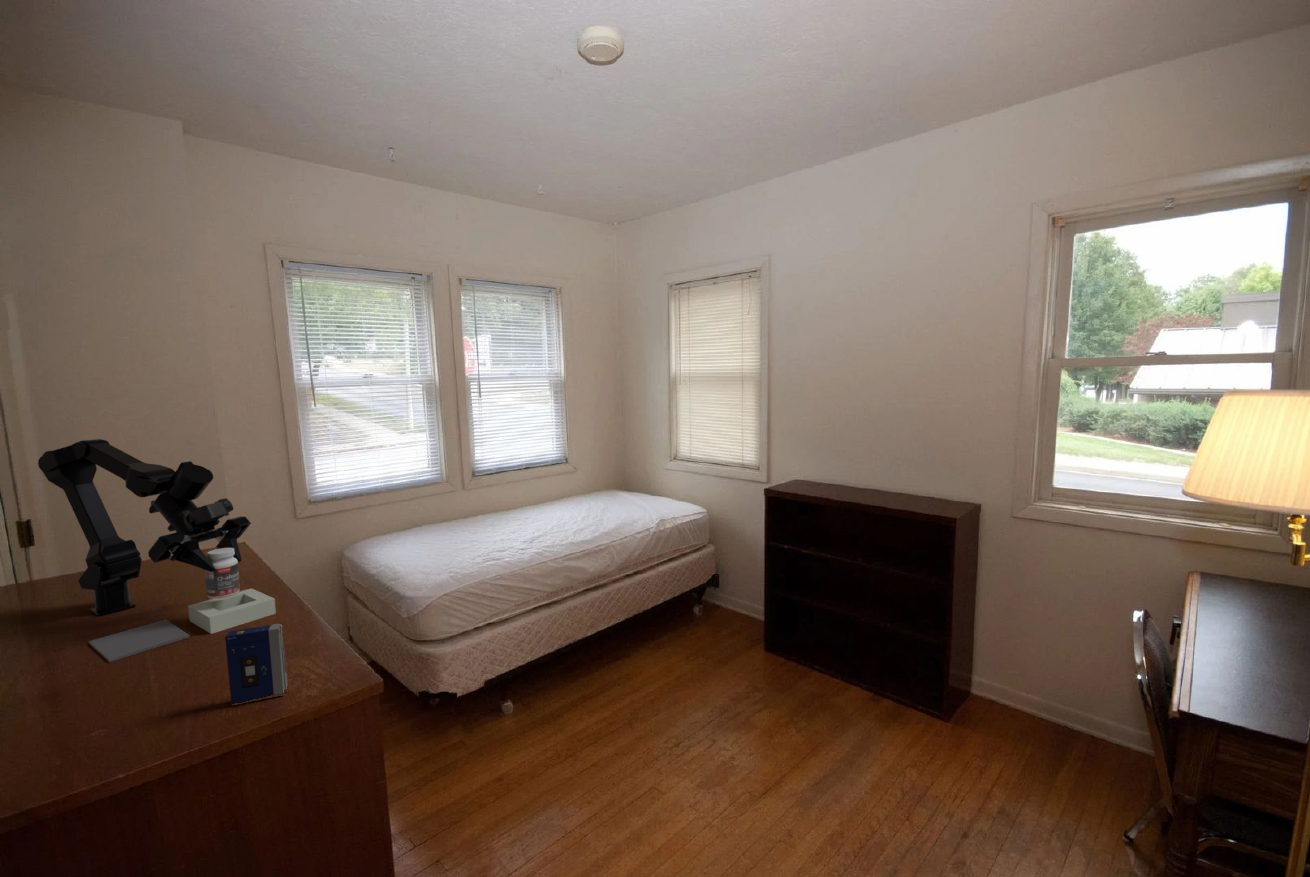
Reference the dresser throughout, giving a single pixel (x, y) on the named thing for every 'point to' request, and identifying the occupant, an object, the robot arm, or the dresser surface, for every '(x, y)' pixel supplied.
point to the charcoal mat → (137, 640)
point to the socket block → (231, 610)
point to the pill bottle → (222, 574)
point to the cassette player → (256, 662)
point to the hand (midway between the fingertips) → (226, 565)
